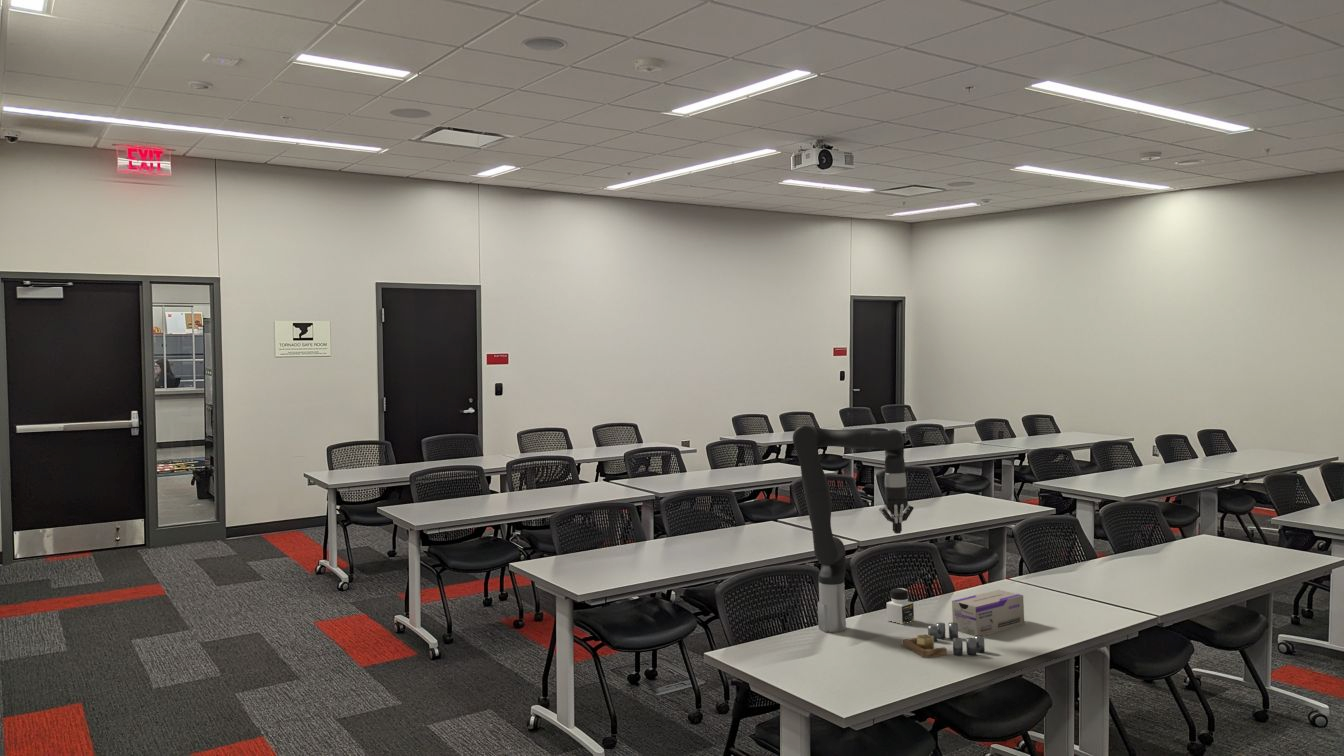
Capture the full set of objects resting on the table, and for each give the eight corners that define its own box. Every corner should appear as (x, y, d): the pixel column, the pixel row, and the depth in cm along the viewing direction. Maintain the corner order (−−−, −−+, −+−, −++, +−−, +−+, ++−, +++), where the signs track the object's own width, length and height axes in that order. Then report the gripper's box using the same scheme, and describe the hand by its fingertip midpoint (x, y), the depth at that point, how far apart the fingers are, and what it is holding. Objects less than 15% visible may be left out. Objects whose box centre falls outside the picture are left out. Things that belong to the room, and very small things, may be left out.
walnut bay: (923, 657, 287) (923, 651, 287) (902, 645, 301) (902, 639, 301) (946, 654, 289) (946, 648, 289) (925, 642, 303) (924, 636, 303)
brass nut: (920, 653, 291) (920, 640, 291) (913, 648, 297) (913, 635, 297) (937, 652, 292) (937, 638, 292) (930, 647, 297) (930, 634, 297)
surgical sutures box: (999, 618, 328) (998, 589, 328) (1024, 624, 319) (1023, 595, 319) (953, 630, 316) (951, 600, 316) (977, 637, 306) (975, 606, 306)
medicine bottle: (902, 625, 324) (901, 592, 324) (886, 621, 329) (885, 589, 329) (914, 621, 328) (913, 589, 328) (898, 617, 334) (897, 585, 334)
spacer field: (959, 657, 286) (958, 642, 286) (924, 638, 307) (923, 624, 307) (989, 653, 288) (988, 638, 288) (952, 635, 309) (952, 620, 309)
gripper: (883, 487, 313) (885, 536, 313) (917, 485, 316) (919, 533, 316) (873, 485, 320) (875, 532, 320) (907, 482, 323) (909, 530, 323)
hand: (897, 533), depth 318 cm, fingers closed
